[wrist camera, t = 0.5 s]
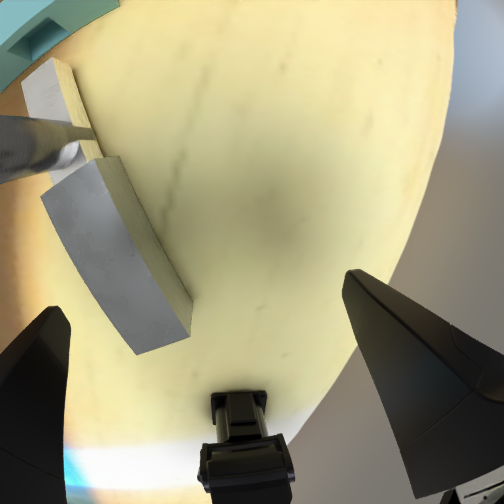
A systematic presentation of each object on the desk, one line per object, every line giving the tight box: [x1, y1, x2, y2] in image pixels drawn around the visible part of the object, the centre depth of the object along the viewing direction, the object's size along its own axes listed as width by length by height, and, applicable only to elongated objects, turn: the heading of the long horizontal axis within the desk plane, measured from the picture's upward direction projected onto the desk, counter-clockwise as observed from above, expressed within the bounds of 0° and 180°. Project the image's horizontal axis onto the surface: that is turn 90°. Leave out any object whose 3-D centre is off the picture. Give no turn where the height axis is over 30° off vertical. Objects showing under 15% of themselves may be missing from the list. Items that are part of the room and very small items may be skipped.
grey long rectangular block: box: [40, 156, 193, 355], centre depth 19 cm, size 14×5×5 cm, turn 22°
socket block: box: [0, 0, 119, 93], centre depth 10 cm, size 6×14×6 cm, turn 112°
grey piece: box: [0, 57, 103, 186], centre depth 13 cm, size 22×3×12 cm, turn 22°
